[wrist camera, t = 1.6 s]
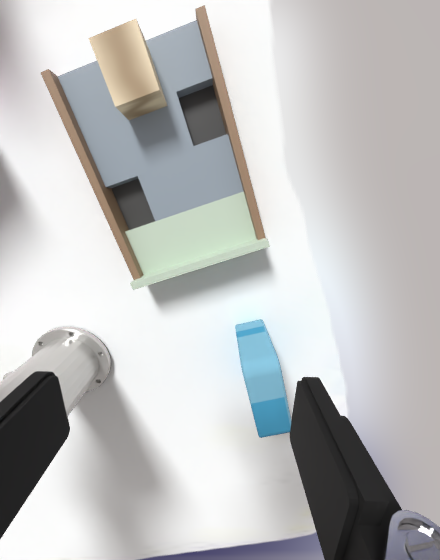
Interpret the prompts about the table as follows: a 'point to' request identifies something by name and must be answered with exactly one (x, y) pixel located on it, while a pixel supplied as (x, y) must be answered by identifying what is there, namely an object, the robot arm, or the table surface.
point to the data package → (263, 379)
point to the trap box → (166, 160)
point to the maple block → (128, 70)
